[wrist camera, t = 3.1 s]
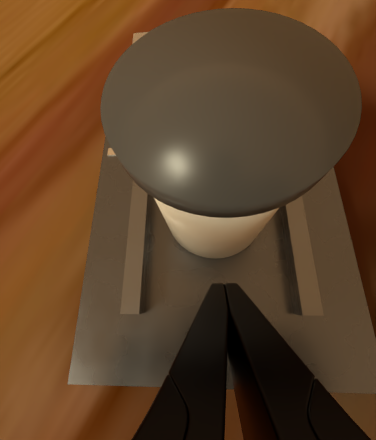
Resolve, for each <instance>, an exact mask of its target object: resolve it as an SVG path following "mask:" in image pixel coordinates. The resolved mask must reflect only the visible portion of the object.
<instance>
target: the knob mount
mask: <svg viewBox="0 0 376 440" xmlns="http://www.w3.org/2000/svg"><path fill="white" fill-rule="evenodd" d="M147 33H148V32H144V33H134V36H133V43H134V42H136V41H137V40H138V39H140V38H141V37H142V36H143V35H145V34H147ZM212 283H223V284H224V285H225V283H237V284H238V285H239V286H240V287H241V288H242V289H243V291H244V292H245V293H246V294H247V295H248V297H249V298H250V299H251V300H252V301H253V303H254V304H255V305H256V306H257V307H258V309H259V310H260V311H261V312H262V313H263V315H264V316H265V317H266V318H267V319H268V321H269V322H270V323H271V324H272V325H273V327H274V328H275V329H276V330H277V331H278V332H279V334H280V335H281V336H282V337H283V338H284V340H285V341H286V342H287V343H288V344H289V346H290V347H291V348H292V349H293V350H294V352H295V353H296V354H297V355H298V356H299V358H300V359H301V360H302V361H303V362H304V364H305V365H306V366H307V367H308V368H309V370H310V371H311V372H312V373H313V374H314V376H315V377H314V379H315V378H317V379H318V380H319V381H320V383H321V384H322V385H323V386H324V387H325V389H326V390H327V391H328V392H339V393H372V394H376V338H375V334H374V330H373V326H372V322H371V318H370V314H369V309H368V305H367V301H366V297H365V293H364V289H363V285H362V281H361V277H360V273H359V269H358V265H357V261H356V256H355V252H354V248H353V244H352V240H351V236H350V232H349V228H348V224H347V220H346V216H345V212H344V208H343V203H342V199H341V195H340V191H339V187H338V183H337V179H336V175H335V171H334V167H333V168H332V169H331V170H330V171H329V172H328V173H327V174H326V175H325V176H324V177H323V178H322V179H321V180H320V181H319V182H318V183H317V184H316V185H315V186H314V187H313V188H312V189H311V190H309V191H308V192H306V193H305V194H304V195H302V196H301V197H299V198H298V199H296V200H294V201H292V202H290V203H288V204H286V205H284V206H282V207H280V208H279V209H278V210H277V211H276V213H275V214H274V215H273V216H272V218H271V219H270V220H269V222H268V223H267V224H266V225H265V227H264V228H263V229H262V231H261V232H260V233H259V234H258V236H257V237H256V238H255V239H254V241H253V242H252V243H251V244H250V245H249V246H248V247H247V248H246V249H244V250H243V251H241V252H239V253H237V254H235V255H233V256H230V257H225V258H217V259H214V258H205V257H201V256H198V255H195V254H193V253H191V252H189V251H188V250H186V249H185V248H184V247H182V246H181V245H180V244H179V243H178V242H177V240H176V239H175V238H174V236H173V235H172V233H171V231H170V229H169V227H168V225H167V223H166V221H165V219H164V217H163V215H162V213H161V211H160V209H159V207H158V205H157V203H156V201H155V199H154V197H152V196H150V195H149V194H148V193H146V192H145V191H144V190H143V189H142V188H140V187H139V186H138V185H137V184H136V183H135V182H134V181H133V180H132V178H131V177H130V176H129V175H128V173H127V172H126V170H125V169H124V167H123V166H122V164H121V163H120V161H119V160H118V158H117V156H116V155H115V153H114V151H113V150H112V148H111V147H110V144H109V142H108V140H107V138H106V137H105V144H104V150H103V157H102V163H101V170H100V176H99V183H98V189H97V196H96V203H95V209H94V216H93V222H92V229H91V235H90V242H89V248H88V255H87V261H86V268H85V274H84V281H83V287H82V294H81V300H80V307H79V313H78V320H77V327H76V333H75V340H74V346H73V353H72V359H71V366H70V372H69V379H68V384H80V385H112V386H145V387H161V386H162V384H163V382H164V380H165V378H166V376H167V375H169V374H168V372H169V370H170V368H171V366H172V363H173V361H174V359H175V357H176V355H177V353H178V351H179V349H180V347H181V345H182V343H183V341H184V339H185V337H186V335H187V333H188V330H189V328H190V326H191V324H192V322H193V320H194V318H195V316H196V314H197V312H198V310H199V308H200V306H201V304H202V302H203V300H204V298H205V295H206V293H207V291H208V289H209V287H210V285H211V284H212ZM226 389H234V386H233V381H232V375H231V370H230V365H229V359H228V355H227V382H226Z"/></svg>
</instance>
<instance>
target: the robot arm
mask: <svg viewBox="0 0 376 440" xmlns="http://www.w3.org/2000/svg"><path fill="white" fill-rule="evenodd" d="M227 355H228V359H229V365H230V370H231V375H232V381H233V386H234V391H235V396H236V401H237V407H238V412H239V417H240V422H241V427H242V433H243V438H244V440H371V439H370V438H369V437H368V436H367V435H366V434H365V433H364V432H363V430H362V429H361V428H360V427H359V426H358V425H357V424H356V423H355V422H354V421H353V420H352V419H351V417H350V416H349V415H348V414H347V413H346V412H345V411H344V409H343V408H342V407H341V406H340V405H339V404H338V403H337V401H336V400H335V399H334V398H333V397H332V396H331V395H330V393H329V392H328V391H327V390H326V389H325V387H324V386H323V385H322V384H321V383H320V381H319V380H318V379H317V378H315V379H314V377H315V376H314V374H313V373H312V372H311V371H310V370H309V368H308V367H307V366H306V365H305V364H304V362H303V361H302V360H301V359H300V358H299V356H298V355H297V354H296V353H295V352H294V350H293V349H292V348H291V347H290V346H289V344H288V343H287V342H286V341H285V340H284V338H283V337H282V336H281V335H280V334H279V332H278V331H277V330H276V329H275V328H274V327H273V325H272V324H271V323H270V322H269V321H268V319H267V318H266V317H265V316H264V315H263V313H262V312H261V311H260V310H259V309H258V307H257V306H256V305H255V304H254V303H253V301H252V300H251V299H250V298H249V297H248V295H247V294H246V293H245V292H244V291H243V289H242V288H241V287H240V286H239V285H238V284H237V283H225V285H224V284H223V283H212V284H211V285H210V287H209V289H208V291H207V293H206V295H205V298H204V300H203V302H202V304H201V306H200V308H199V310H198V312H197V314H196V316H195V318H194V320H193V322H192V324H191V326H190V328H189V330H188V333H187V335H186V337H185V339H184V341H183V343H182V345H181V347H180V349H179V351H178V353H177V355H176V357H175V359H174V361H173V363H172V366H171V368H170V370H169V372H168V374H169V375H167V376H166V378H165V380H164V382H163V384H162V386H161V388H160V390H159V392H158V394H157V396H156V397H155V399H154V401H153V403H152V405H151V407H150V409H149V411H148V413H147V414H146V416H145V418H144V420H143V421H142V423H141V425H140V426H139V428H138V430H137V431H136V433H135V435H134V436H133V438H132V440H224V434H225V408H226V382H227Z"/></svg>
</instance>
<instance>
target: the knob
mask: <svg viewBox="0 0 376 440" xmlns="http://www.w3.org/2000/svg"><path fill="white" fill-rule="evenodd" d="M361 110H362V101H361V91H360V87H359V83H358V79H357V77H356V75H355V72H354V70H353V68H352V66H351V65H350V63H349V62H348V60H347V59H346V57H345V56H344V55H343V53H342V52H341V51H340V50H339V49H338V48H337V47H336V46H335V45H334V44H333V43H332V42H331V41H330V40H329V39H327V38H326V37H325V36H323V35H322V34H321V33H319V32H318V31H316V30H315V29H313V28H311V27H309V26H307V25H305V24H304V23H302V22H299V21H297V20H294V19H292V18H289V17H286V16H283V15H280V14H276V13H272V12H267V11H262V10H254V9H241V8H228V9H215V10H207V11H202V12H197V13H192V14H189V15H185V16H182V17H179V18H176V19H174V20H171V21H169V22H166V23H164V24H162V25H160V26H158V27H156V28H154V29H153V30H151V31H150V32H148V33H147V34H145V35H143V36H142V37H141V38H140V39H138V40H137V41H136V42H134V43H133V44H132V45H131V46H130V47H129V48H128V49H127V50H126V51H125V52H124V53H123V54H122V56H121V57H120V58H119V59H118V61H117V62H116V63H115V65H114V67H113V68H112V70H111V72H110V73H109V76H108V78H107V80H106V83H105V85H104V89H103V93H102V99H101V120H102V125H103V129H104V133H105V135H106V138H107V140H108V142H109V144H110V147H111V148H112V150H113V151H114V153H115V155H116V156H117V158H118V160H119V161H120V163H121V164H122V166H123V167H124V169H125V170H126V172H127V173H128V175H129V176H130V177H131V178H132V180H133V181H134V182H135V183H136V184H137V185H138V186H139V187H140V188H142V189H143V190H144V191H145V192H146V193H148V194H149V195H150V196H152V197H154V199H155V201H156V203H157V205H158V207H159V209H160V211H161V213H162V215H163V217H164V219H165V221H166V223H167V225H168V227H169V229H170V231H171V233H172V235H173V236H174V238H175V239H176V240H177V242H178V243H179V244H180V245H181V246H182V247H184V248H185V249H186V250H188V251H189V252H191V253H193V254H195V255H198V256H201V257H205V258H214V259H217V258H225V257H230V256H233V255H235V254H237V253H239V252H241V251H243V250H244V249H246V248H247V247H248V246H249V245H250V244H251V243H252V242H253V241H254V239H255V238H256V237H257V236H258V234H259V233H260V232H261V231H262V229H263V228H264V227H265V225H266V224H267V223H268V222H269V220H270V219H271V218H272V216H273V215H274V214H275V213H276V211H277V210H278V209H279V208H280V207H282V206H284V205H286V204H288V203H290V202H292V201H294V200H296V199H298V198H299V197H301V196H302V195H304V194H305V193H306V192H308V191H309V190H311V189H312V188H313V187H314V186H315V185H316V184H317V183H318V182H319V181H320V180H321V179H322V178H323V177H324V176H325V175H326V174H327V173H328V172H329V171H330V170H331V169H332V168H333V166H334V165H335V164H336V163H337V162H338V161H339V160H340V159H341V157H342V156H343V155H344V153H345V152H346V151H347V150H348V148H349V146H350V144H351V143H352V141H353V139H354V137H355V135H356V132H357V129H358V126H359V123H360V118H361Z"/></svg>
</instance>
